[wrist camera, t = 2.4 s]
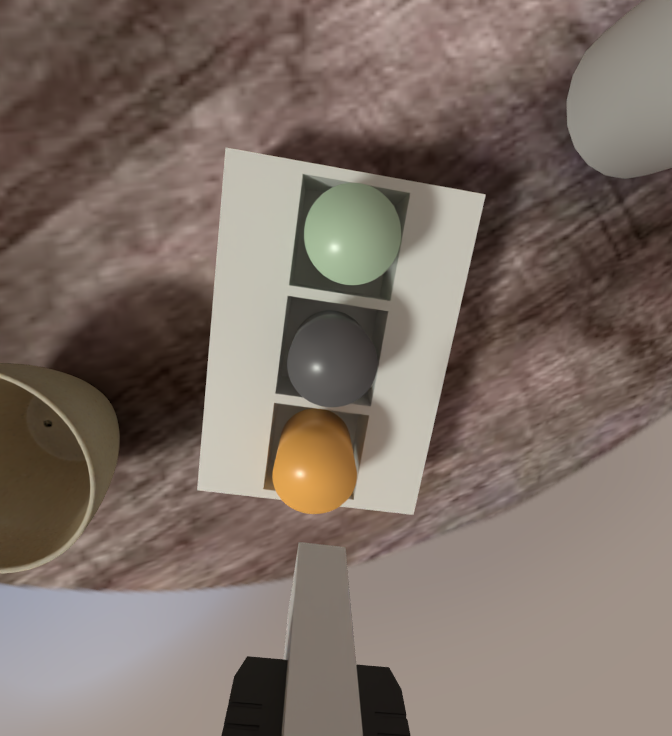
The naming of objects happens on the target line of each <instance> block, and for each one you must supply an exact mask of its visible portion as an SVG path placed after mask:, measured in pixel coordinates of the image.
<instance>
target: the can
mask: <svg viewBox="0 0 672 736" xmlns="http://www.w3.org/2000/svg"><path fill="white" fill-rule="evenodd" d="M567 126H568V129H569V132H570V135H571V138H572V141H573V144H574V147H575V149H576V150H577V151H578V153H579V154H580V155H581V157H582V158H583V159H584V160H585V162H586V163H587V164H588V165H589V166H591V167H592V168H594V169H596V170H597V171H599V172H601V173H602V174H604V175H606V176H612V177H617V178H623V179H628V178H634V177H639V176H645V175H649V174H652V173H656V172H659V171H663V170H666V169H670V168H672V0H642V1H641V2H640V3H639V4H638V5H636V6H635V7H634V8H633V9H632V10H630V11H629V12H628V13H627V14H626V15H625V16H623V17H622V18H621V19H620V20H619V21H617V22H616V23H615V24H614V25H613V26H611V27H610V28H609V29H608V30H607V31H605V32H604V33H603V34H602V35H601V36H600V37H599V38H598V39H597V40H596V42H595V43H594V44H593V45H592V46H591V47H590V48H589V49H588V50H587V51H586V52H585V54H584V56H583V58H582V60H581V61H580V63H579V65H578V67H577V69H576V71H575V72H574V74H573V77H572V81H571V85H570V89H569V93H568V97H567Z"/></svg>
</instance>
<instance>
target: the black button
mask: <svg viewBox="0 0 672 736" xmlns="http://www.w3.org/2000/svg"><path fill="white" fill-rule="evenodd" d="M377 366H378V362H377V353H376V350H375V347H374V345H373V343H372V341H371V340H370V338H369V337H368V335H367V334H366V333H365V331H364V330H363V329H362V327H361V326H360V325H359V324H358V322H357V321H356V320H355V319H353V318H352V317H351V316H349V315H347V314H345V313H342V312H339V311H333V310H327V311H321V312H318V313H315V314H313V315H311V316H309V317H308V318H307V319H306V320H304V321H303V322H302V324H301V325H300V326H299V328H298V329H297V331H296V333H295V336H294V339H293V341H292V344H291V347H290V350H289V353H288V358H287V370H288V375H289V378H290V380H291V383H292V384H293V386H294V388H295V389H296V391H297V392H298V393H299V394H300V395H301V396H302V397H303V398H305V399H306V400H308V401H309V402H311V403H313V404H316V405H319V406H323V407H341V406H345V405H348V404H351V403H353V402H355V401H356V400H358V399H359V398H361V397H362V396H363V395H364V394H365V393H366V392H367V391H368V390H369V388H370V387H371V385H372V383H373V381H374V379H375V376H376V372H377Z"/></svg>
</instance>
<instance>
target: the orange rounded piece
mask: <svg viewBox="0 0 672 736" xmlns="http://www.w3.org/2000/svg"><path fill="white" fill-rule="evenodd" d="M272 478H273V484H274V488H275V490H276V492H277V494H278V496H279V497H280V498H281V500H282V501H283V502H284V503H285V504H287V505H288V506H289V507H291V508H293V509H295V510H297V511H300V512H303V513H308V514H320V513H326V512H329V511H332V510H334V509H336V508H338V507H339V506H341V505H342V504H343V503H344V502H345V501H346V500H348V498H349V497H350V496H351V494H352V492H353V491H354V488H355V485H356V481H357V469H356V464H355V459H354V454H353V448H352V443H351V438H350V433H349V430H348V427H347V425H346V424H345V422H344V421H343V420H342V419H341V418H340V417H339V416H338V415H336V414H335V413H333V412H331V411H329V410H325V409H317V408H311V409H306V410H303V411H300V412H298V413H296V414H295V415H293V416H292V417H291V418H290V419H289V420H288V421H287V423H286V424H285V426H284V428H283V430H282V433H281V437H280V441H279V446H278V450H277V454H276V459H275V463H274V468H273V475H272Z"/></svg>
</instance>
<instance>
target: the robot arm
mask: <svg viewBox="0 0 672 736" xmlns="http://www.w3.org/2000/svg"><path fill="white" fill-rule="evenodd" d="M222 736H410V731H409V726H408V721H407V719H406V711H405V705H404V701H403V695H402V690H401V688H400V686H399V684H398V683H397V681H396V679H395V677H394V675H393V674H392V672H391V670H390V668H389V667H378V666H366V665H356V657H355V646H354V635H353V625H352V614H351V603H350V592H349V582H348V571H347V560H346V549H345V547H338V546H329V545H319V544H310V543H301V542H299V545H298V552H297V558H296V565H295V571H294V578H293V584H292V591H291V598H290V604H289V611H288V620H287V631H286V641H285V651H284V660H282V659H271V658H260V657H247V658H246V659H245V661H244V662H243V664H242V665H241V667H240V669H239V670H238V672H237V673H236V675H235V676H234V680H233V685H232V689H231V694H230V699H229V705H228V708H227V713H226V717H225V722H224V728H223V732H222Z"/></svg>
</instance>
